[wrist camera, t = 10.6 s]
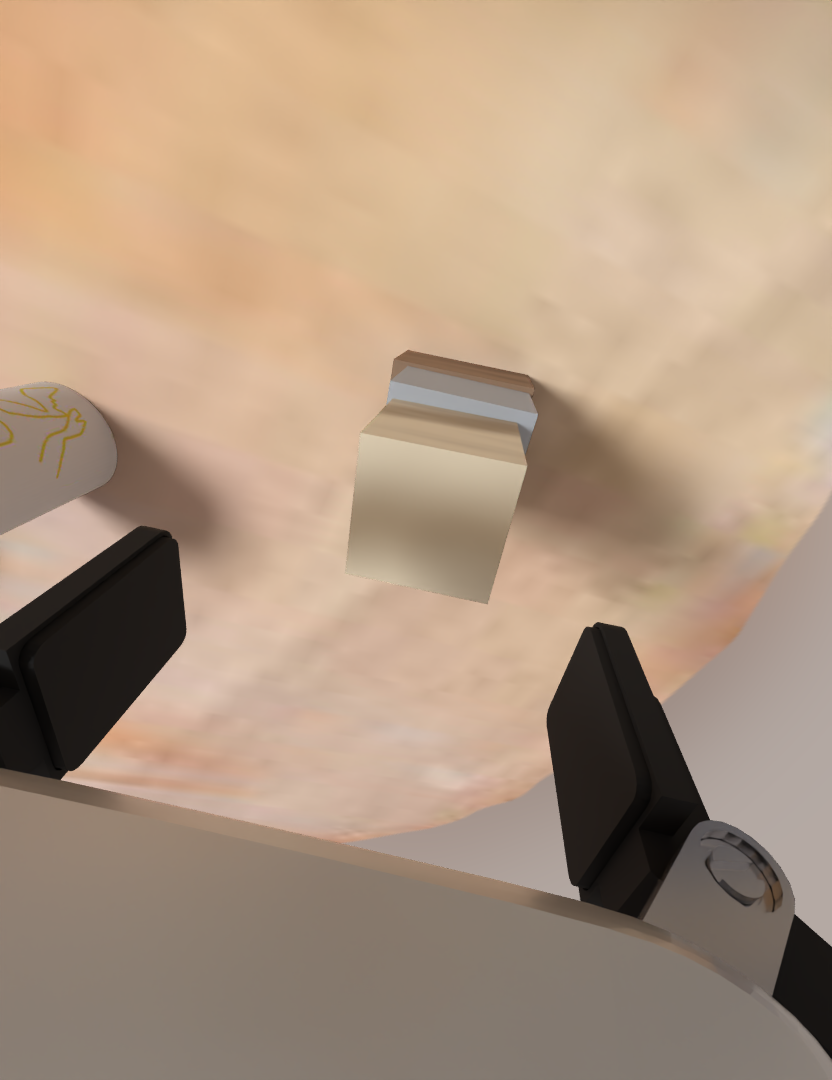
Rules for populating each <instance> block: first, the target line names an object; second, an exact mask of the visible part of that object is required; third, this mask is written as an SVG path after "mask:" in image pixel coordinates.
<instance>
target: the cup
mask: <svg viewBox="0 0 832 1080" xmlns="http://www.w3.org/2000/svg"><path fill="white" fill-rule="evenodd" d="M116 465H117V448H116V443H115V440H114V437H113V434H112V432H111V430H110V428H109V426H108V424H107V422H106V421H105V419H104V418H103V416H102V415H101V414H100V412H99V411H98V410H97V409H96V408H95V407H94V406H93V405H92V404H91V403H90V402H89V401H88V400H87V399H85V398H84V397H83V396H82V395H80V394H79V393H77V392H75V391H74V390H72V389H70V388H68V387H66V386H63V385H60V384H57V383H52V382H37V383H32V384H26V385H21V386H16V387H10V388H5V389H0V535H2V534H4V533H6V532H8V531H10V530H12V529H14V528H16V527H18V526H20V525H22V524H24V523H26V522H28V521H31V520H33V519H35V518H37V517H39V516H41V515H43V514H45V513H47V512H49V511H51V510H53V509H55V508H57V507H59V506H61V505H64V504H66V503H68V502H70V501H72V500H74V499H76V498H78V497H80V496H82V495H84V494H86V493H88V492H90V491H92V490H94V489H97V488H99V487H101V486H103V485H104V484H106V483H107V482H108V481H109V480H110V479H111V477H112V476H113V474H114V472H115V469H116Z"/></svg>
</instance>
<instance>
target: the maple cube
mask: <svg viewBox="0 0 832 1080" xmlns="http://www.w3.org/2000/svg"><path fill="white" fill-rule="evenodd" d="M526 469H527V462H526V458H525V454H524V450H523V446H522V441H521V437H520V433H519V429H518V425H517V423H516V422H511V421H506V420H501V419H496V418H491V417H486V416H481V415H476V414H470V413H465V412H460V411H455V410H450V409H445V408H440V407H435V406H430V405H425V404H420V403H415V402H409V401H404V400H399V399H394V398H393V399H392V400H391V401H390V402H389V403H388V404H387V405H386V406H385V407H384V408H383V409H382V410H381V411H380V412H379V414H378V415H377V416H376V417H375V418H374V419H373V420H372V421H371V422H370V423H369V424H368V425H367V426H366V427H365V428H364V429H363V430H362V431H361V432H360V439H359V449H358V458H357V467H356V477H355V486H354V495H353V505H352V514H351V523H350V533H349V542H348V551H347V561H346V570H345V574H349V575H353V576H358V577H363V578H367V579H372V580H377V581H381V582H386V583H391V584H395V585H400V586H405V587H409V588H414V589H419V590H423V591H428V592H433V593H437V594H442V595H447V596H451V597H456V598H461V599H465V600H470V601H475V602H479V603H484V604H488V600H489V597H490V594H491V590H492V587H493V583H494V580H495V576H496V573H497V569H498V566H499V563H500V559H501V556H502V552H503V549H504V545H505V542H506V538H507V535H508V531H509V528H510V525H511V521H512V518H513V514H514V511H515V507H516V504H517V500H518V497H519V494H520V490H521V487H522V483H523V480H524V476H525V473H526Z"/></svg>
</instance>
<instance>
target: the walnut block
mask: <svg viewBox="0 0 832 1080" xmlns="http://www.w3.org/2000/svg"><path fill="white" fill-rule="evenodd" d="M407 366H410V367H415V368H419V369H424V370H428V371H432V372H437V373H441V374H446V375H450V376H454V377H459V378H463V379H468V380H472V381H477V382H481V383H485V384H490V385H494V386H499V387H503V388H507V389H512V390H516V391H521V392H525V393H529V394H530V396H531V399H532V396H533V393H534V390H535V388H534V386H533V384H532V382H531V380H530V379H529V377H528V375H525V374H520V373H515V372H510V371H506V370H501V369H496V368H491V367H486V366H482V365H477V364H472V363H467V362H462V361H458V360H453V359H448V358H443V357H438V356H434V355H429V354H424V353H419V352H414V351H410V350H407V351H406V352H404V353H403V354H401V355H400V356H398V357H396V358H395V359H394V361H393V368H392V375H391V380H392V379H393V378H394V377H395V376H396V375H398V374H399V373H400V372H401V371H402V370H404V369H405V368H406V367H407Z"/></svg>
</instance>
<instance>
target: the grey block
mask: <svg viewBox="0 0 832 1080" xmlns="http://www.w3.org/2000/svg"><path fill="white" fill-rule="evenodd" d="M393 398H394V399H399V400H404V401H409V402H415V403H420V404H425V405H430V406H435V407H440V408H445V409H450V410H455V411H460V412H465V413H470V414H476V415H481V416H486V417H491V418H496V419H501V420H506V421H511V422H516V423H517V425H518V429H519V433H520V437H521V441H522V446H523V450H524V454H526V451H527V448H528V445H529V442H530V439H531V435H532V432H533V429H534V426H535V423H536V420H537V417H538V413H537V410H536V408H535V406H534V403H533V401H532V399H531V396H530V394H529V393H525V392H521V391H516V390H512V389H507V388H503V387H499V386H494V385H490V384H485V383H481V382H477V381H472V380H468V379H463V378H459V377H454V376H450V375H446V374H441V373H437V372H432V371H428V370H424V369H419V368H415V367H410V366H407V367H406V368H405V369H404V370H402V371H401V372H400V373H399V374H398V375H396V376H395V377H394V378H393V379H392V380H390V386H389V392H388V398H387V404H388V403H389V402H390V401H391V400H392V399H393Z"/></svg>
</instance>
